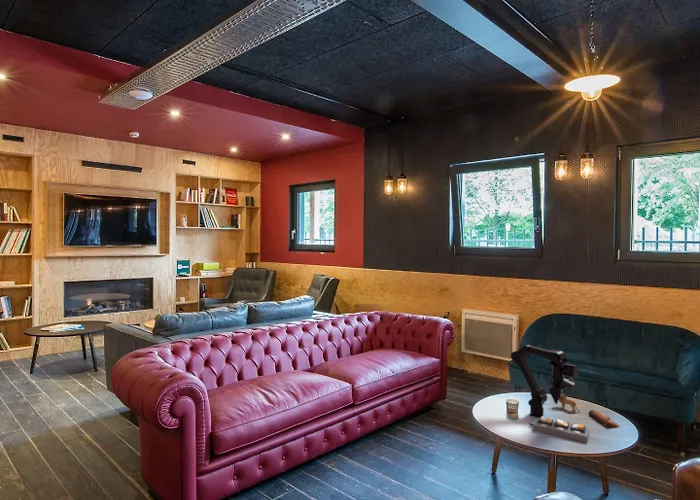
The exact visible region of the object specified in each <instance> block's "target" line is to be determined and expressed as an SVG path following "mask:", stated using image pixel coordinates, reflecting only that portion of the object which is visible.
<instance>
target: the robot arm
mask: <svg viewBox="0 0 700 500" xmlns="http://www.w3.org/2000/svg"><path fill="white" fill-rule="evenodd" d="M528 354H532V355H536V356H539V357H543V358H545V359H547V360H548V361H549V362H548V365H550V366H552V367H551V379H552V380H551V386H549V388H548V392H549V394H550V395H551V397H552V399H553V402H554V403H555V404H556V405H558V403H559V400H558V399H560V397H561V394H563V390H564V389H565V388H567V389H568V390H570V391H571V390H573V389H574V386H575V384H576V383H575V382H574V379H577V378H578V376H579V369H578V367H577V364H576V365H575V364H570V362H569V360H568V359H567V357H566V355H565V352H563V351H561V350H553V349H552V350H550V349H546V348H543V347H542V348H541V347H538V346H534V345H531V344H526V345H525V344H524V346H523V347H521V348H519V349H518V350H515V351H512V352H511V354H510V358H511V360H512V362H513V363H514V364H515V365H517V366H518V368H519V369H520V371H521V373H522V376H523V377H524V379H525V381H526V384H527V385H528V388H529V389H530V396H531V399H530V400H528V402H527V403H528V405H529V406H530V410H529V412H530V413H529V416H531V417H536V418H540V417H542V416H543V417H544V414H545V412H544V409H545V408H544V407H543V406H544V404H545V402H547V401H548V394H547V392H546V390H545V388H543V387H542V388H541V387H540V386H539V385H538V383H537V380H536V378H535V377H534V375H533V373H532V371H531V369H530V367H529V365H528V362H527V361H528V360H527V355H528ZM565 377H568V378H565ZM569 377H570V378H569Z"/></svg>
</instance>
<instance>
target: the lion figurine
mask: <svg viewBox="0 0 700 500" xmlns="http://www.w3.org/2000/svg"><path fill="white" fill-rule="evenodd" d="M558 403H560V404H561V407H560V409H564V408H566V405H567V406H570V408H571V410H572V411H573V412H572V413H574V414H575V413H576V411H577V412H578V413H580V412H581V411H580V410H579V409H578V407H577V404H576V401H575V400H574V399H571V398H567V396H566V395H565V394H564V393H562V394H561V397H560V399H558Z"/></svg>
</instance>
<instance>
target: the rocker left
mask: <svg viewBox="0 0 700 500" xmlns="http://www.w3.org/2000/svg"><path fill="white" fill-rule="evenodd" d="M539 419H540V418H539ZM540 420H541V421H544V422H548V423H551V422H552V420H553V419H550V418H548V417H546V416H544V415H543V416H542V417H541V419H540Z"/></svg>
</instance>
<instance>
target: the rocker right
mask: <svg viewBox="0 0 700 500" xmlns="http://www.w3.org/2000/svg"><path fill="white" fill-rule="evenodd" d="M572 424H573V426H572V428H577V429H583V428H584V426H585V424H583V423H582V424H580V423H579V424H578V423H577V424H575V423H572Z"/></svg>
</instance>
